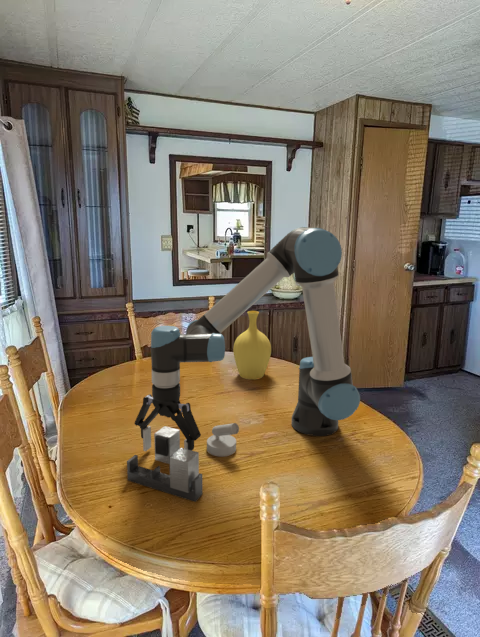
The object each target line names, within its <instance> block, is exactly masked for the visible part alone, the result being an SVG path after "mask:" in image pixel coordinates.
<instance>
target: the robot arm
mask: <svg viewBox="0 0 480 637" xmlns="http://www.w3.org/2000/svg"><path fill="white" fill-rule="evenodd" d="M342 250H343V249H342V245H341V243H340V241H339V239H338V237H337V236H335V235H334V234H333V233H332V232H330V231H328V230H326V229H325V228H322V227H305V226H304V227H303V226H302V227H296V228H295V229H293V230H291V231H289V232H288V233H287V234H286V235H285V236H284V237H283V238H282V239H281V240H279V241H278V242H277V243H276V245H274V247H272V248H271V249H270V250H268V252H267V253H266V254H267V255H266V258H265V259H264V260H263V261H262V262H261V263H260V264H258V265H257V266H256V267H255V268H254V269H252V271H251V272H249V274H247V275H246V276H245V277H244V278H243V279H242V280H241V281H240V282H239V283H237V284H236V285H235V286H234V287H233V288H232V289H231V290H229V291H228V292H227V293H226V294H225V295H224V296H223V297H222V298H221V299H220V300H218V301H217V302H216V303H215V304H214V305H213V306H212V307H211V308H209V310H207V311H206V312H205V313H203V315H202V316H200V317H199V318H198V319H195V320H192V321H191V322H190V323H189V324H188V325H187V327H186V331H185V334H184V333H183V334H182V333H181V331H180V328H179V327H177V326H174V325H160V326H156V327H154V328H153V329H152V330H151V332H150V356H151V357H150V358H151V383H152V385H151V394H150V393H149V394H147V395H146V396H144V397H143V399H142V405H141V407H140V409H139V412H138V414H137V416H136V419H135V420H134V425H135V426H138V427H139V428H140V434H141V435H140V438H141V439H142V446H143V447H142V448H143V450H142V451H144V452H147V451H148V450H149V449H151V448H152V429H151V428H152V426H150V423H151V422H153V420H154V419H155V418H156V417H157V416H158V414H159V416H161V417H166V418H168V419H169V418H171V420H172V421H173V422H174V423H175V424H176V425H177V427H178V430H180V431H181V433H182V434H183V437H185V439H184V440H183V448H184V449H188V450H192V451H194V449H195V441H198V439H199V438H200V437H201V435H202V434H201V432H200V429H199V427H198V424H197V421H196V420H195V417H194V415H193V413H192V409H191V408H192V407H191V403H190V402H186V403H181V401H180V398H181V384H180V382H181V363H213V362H221V361H223V360H224V359H225V356H226V354H225V353H226V342H225V336H224V335H223V334H222V333H223V332H224V331H225V330H226V329H227V328H228V327H229V326H231V325H232V324H234V322H236V320H237V319H239V317H241V316H242V315H243V314H244V313H245V312H246V311H248V310H249V309H251V307H252V306H253V305H254V304H255V303H257V302H258V301H259V300H260V299H261V298H262V297H263V296H264V295H266V294H267V293H268V292H269V291H270V290H271V289H273V288H274V286H276V285H277V284H279V282H280V281H282V279H284V278H290V277H291V276H292V275H294V282H295V284H296V285H299V286H300V287H301V288H302V296H303V301H304V302H303V303H304V308H305V315H306V322H307V329H308V336H309V343H310V348H311V355H312V356H307V357H303V358H302V359H301V360H300V362H299V368H298V370H299V372H298V394H297V395H298V396H297V402H296V405H295V407H294V410H293V412H292V414H291V426H292V427H293V429H294V430H296V431H297V432H299V433H302V434H304V435H307V436H313V437H314V436H315V437H325V436H330V435H333V434H335V433H336V432H337V431H338V429H339V421H342V420H345V419H348V418H350V416H353V415H354V413H355V412H356V411H357V409H358V408H359V405H360V404H361V395H360V393H359V390H358V388H357V387H356V386H355V385H354V384H353V375H352V370H351V367H350V366H349V365H348V364H346V363H345V357H344V350H343V349H344V348H343V342H342V336H341V327H340V320H339V312H338V305H337V304H338V303H337V296H336V289H335V282H336V280H337V279H338V277H339V264H340V263H341V260H342V258H343V257H342V256H343V255H342V254H343V252H342ZM151 405H153V407H154V409H152V411H151V412H150V414H149V415H148V416H147V414H148V411H149V409H150V406H151ZM146 416H147V417H146Z"/></svg>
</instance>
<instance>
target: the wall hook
mask: <svg viewBox="0 0 480 637" xmlns="http://www.w3.org/2000/svg"><path fill="white" fill-rule="evenodd" d="M239 431H240V427H239V425H238V424H237V423H236V422H234V423H233V422H232V423H227V424H225V423H224V424H220V425H219V424H218V425H215V426H213V427H212V430H211V432H212V435H211V436H209V437H208V438H207V439H206V452H208V454H210V455H212V456H215V457H228V456H232V455H233V454H234V453H235V452H236V451H237V439H236V437H234V436H233V435H237V434H239Z"/></svg>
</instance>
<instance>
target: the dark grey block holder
mask: <svg viewBox="0 0 480 637" xmlns="http://www.w3.org/2000/svg"><path fill="white" fill-rule="evenodd" d="M199 455H200V453H199V451H195V450H188V449H184V447H180V449H179V450H177V451H176V452H175V453H174V454H173V455H171V456H170V457H169V464H168V465H169V474H167V473H164V472H161V466H160V465H158V466H156V467H155V468H154V469H150V468H146V467H143V466H140V465H139V455H137V454H135V455H133V456H132V457H130V458H129V459H128V460H126V470H127V471H126V472H127V473H126V474H127V481H128V482H132V483H134V484H137V485H141V486H144V487H148V488H150V489H154V490H156V491H160V492H163V493H166V494H169V495H173V496H175V497H178V498H182V499H185V500H187V501H188V500H189V501H191V502H194V503H197V501H198V500H199V499H200V498H201V497H202V495H203V473H201V472H199V470H200V466H199V464H200V462H199V461H200V460H199V459H200V458H199Z"/></svg>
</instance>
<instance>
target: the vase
mask: <svg viewBox="0 0 480 637" xmlns="http://www.w3.org/2000/svg"><path fill="white" fill-rule="evenodd" d="M259 314H260V312H259V311H257V310H247V315H248V316H247V317H248V318H249V325H248V328H247V329H246V330H245V331H243V332H242V333H241V334H239V335H238V336H237V337H236V339H235V340H234V343H233V347H232V348H233V349H232V350H233V358H234V361H235V365H236V369H237V372H238V374H239V376H240V377H241V378H243V379H246V380H260V379H262V378H263V377H264V376H265V373H266V371H267V368H268V365H269V362H270V359H271V354H272V343H271V341H270V340H269V338H268V337H267V335H265V333H264V332H262V331H260V330H259V329H258V326H257V318H258V316H259Z"/></svg>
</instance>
